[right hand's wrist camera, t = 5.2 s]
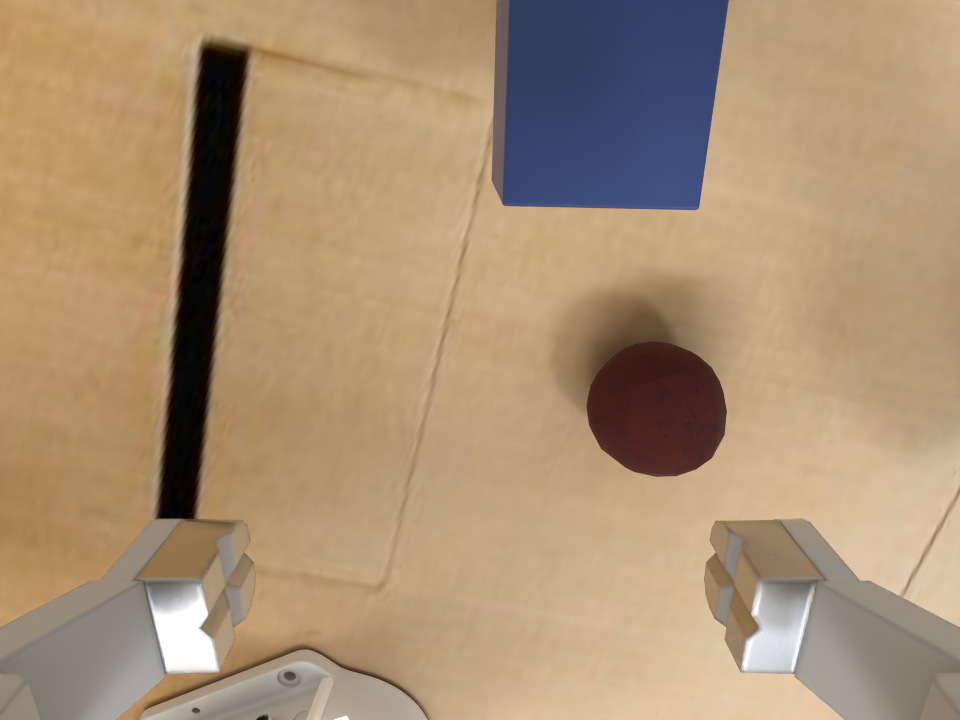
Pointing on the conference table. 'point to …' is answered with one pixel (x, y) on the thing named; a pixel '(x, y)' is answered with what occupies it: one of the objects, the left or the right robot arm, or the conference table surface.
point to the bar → (604, 101)
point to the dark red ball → (657, 409)
